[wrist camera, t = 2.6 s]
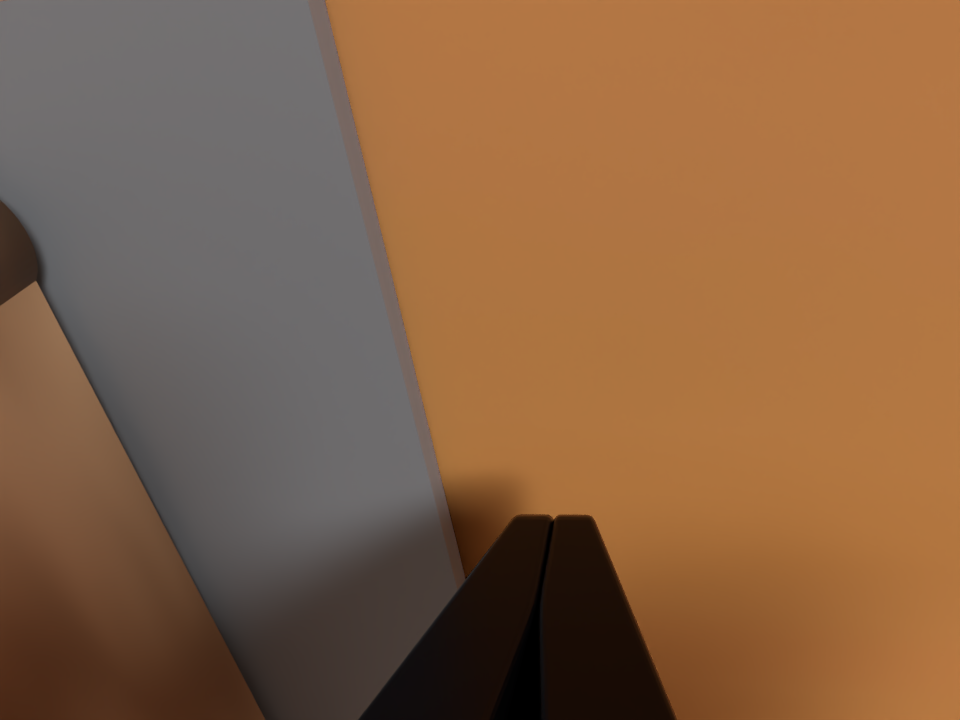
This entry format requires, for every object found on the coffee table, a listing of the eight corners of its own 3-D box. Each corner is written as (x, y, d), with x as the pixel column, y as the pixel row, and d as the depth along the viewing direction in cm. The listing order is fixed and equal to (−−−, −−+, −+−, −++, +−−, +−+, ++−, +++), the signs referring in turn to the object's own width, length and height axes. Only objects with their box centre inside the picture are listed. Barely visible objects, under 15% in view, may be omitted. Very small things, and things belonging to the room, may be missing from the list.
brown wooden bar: (293, 754, 13) (186, 1036, 10) (212, 747, 14) (85, 1018, 11) (-8, 164, 8) (-462, 378, 5) (-132, 178, 8) (-633, 387, 5)
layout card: (567, 997, 19) (566, 1018, 19) (-38, 906, 24) (-49, 922, 23) (311, -55, 7) (292, -51, 6) (-887, 159, 11) (-938, 170, 11)
